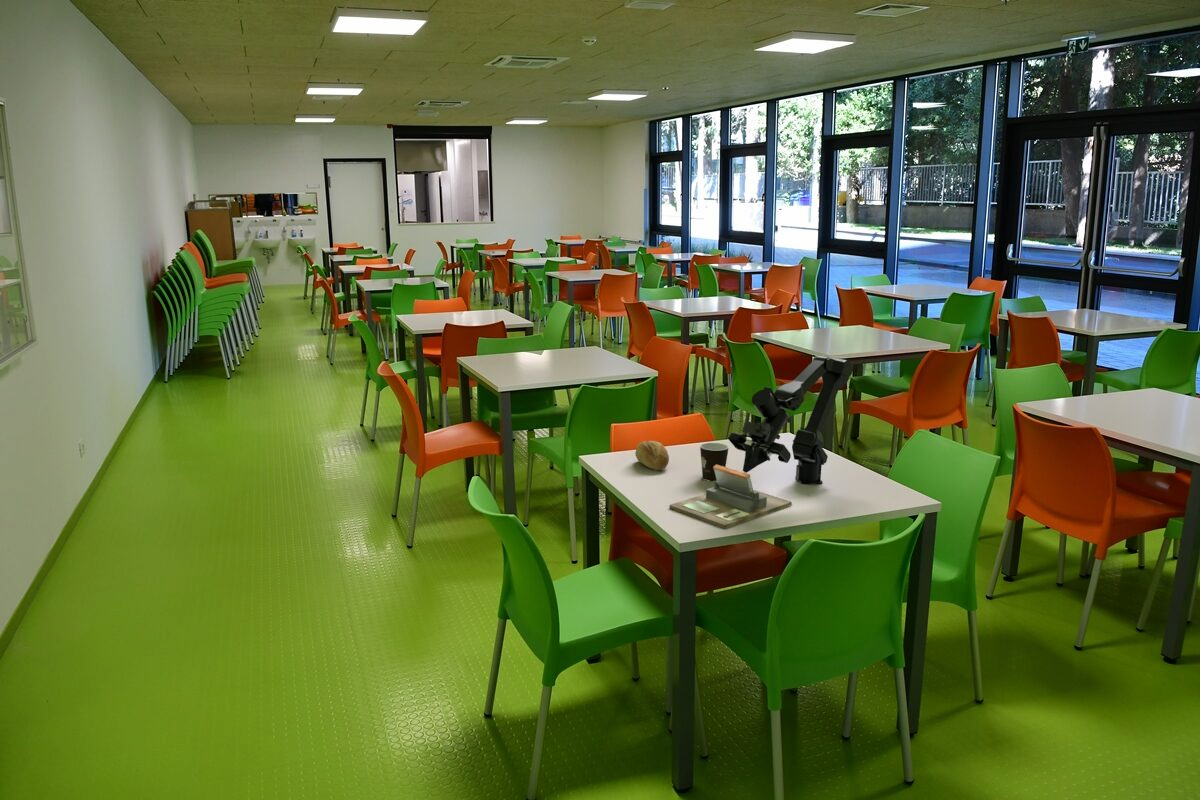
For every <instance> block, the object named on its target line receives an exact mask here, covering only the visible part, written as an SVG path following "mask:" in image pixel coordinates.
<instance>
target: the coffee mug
mask: <svg viewBox="0 0 1200 800" xmlns="http://www.w3.org/2000/svg"><path fill="white" fill-rule="evenodd" d="M699 449H700V450H699V451H700V460H701V461H700V462H701V472H702V473H701V474H702V479H703V478H704V479H706V480H705V481H707V480H710V481H709V482H715V481H717V479H716V475H715V471H714V468H713V467H714V466H715V465H716V464H717V465H720V466H724V467H726V466H727V465H726V464H727V461H728V454H729V445H727V444H726V443H725V444H724V443H720V442H705V443H701V444H700V445H699ZM704 479H703V480H704Z"/></svg>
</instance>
